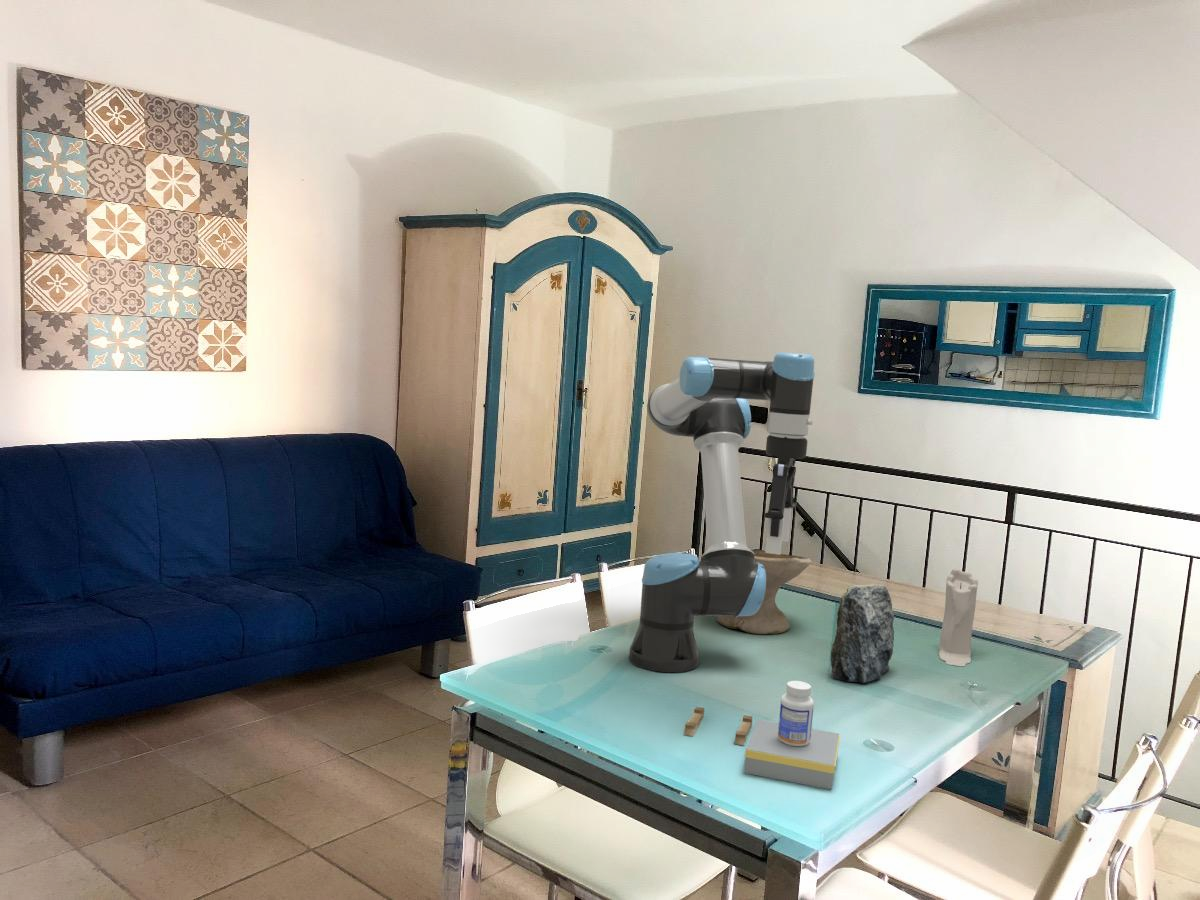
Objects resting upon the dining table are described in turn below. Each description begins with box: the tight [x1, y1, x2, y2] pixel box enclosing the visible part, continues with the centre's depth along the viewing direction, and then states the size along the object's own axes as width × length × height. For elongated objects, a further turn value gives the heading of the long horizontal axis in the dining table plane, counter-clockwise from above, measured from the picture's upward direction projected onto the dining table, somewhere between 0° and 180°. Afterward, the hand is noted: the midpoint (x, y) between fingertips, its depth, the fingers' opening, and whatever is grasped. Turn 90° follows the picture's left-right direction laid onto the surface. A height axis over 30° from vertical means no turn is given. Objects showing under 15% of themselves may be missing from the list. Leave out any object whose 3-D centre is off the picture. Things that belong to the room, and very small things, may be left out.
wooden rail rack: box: [683, 706, 753, 746], centre depth 177 cm, size 11×10×2 cm
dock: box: [743, 718, 841, 790], centre depth 164 cm, size 14×14×4 cm
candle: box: [938, 568, 979, 667], centre depth 230 cm, size 7×14×20 cm, turn 161°
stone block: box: [830, 583, 895, 684], centre depth 213 cm, size 18×9×20 cm, turn 134°
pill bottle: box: [778, 680, 815, 746], centre depth 163 cm, size 5×5×10 cm
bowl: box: [716, 548, 812, 635], centre depth 246 cm, size 26×25×20 cm
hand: (777, 547), depth 186 cm, fingers open, 13 cm apart
